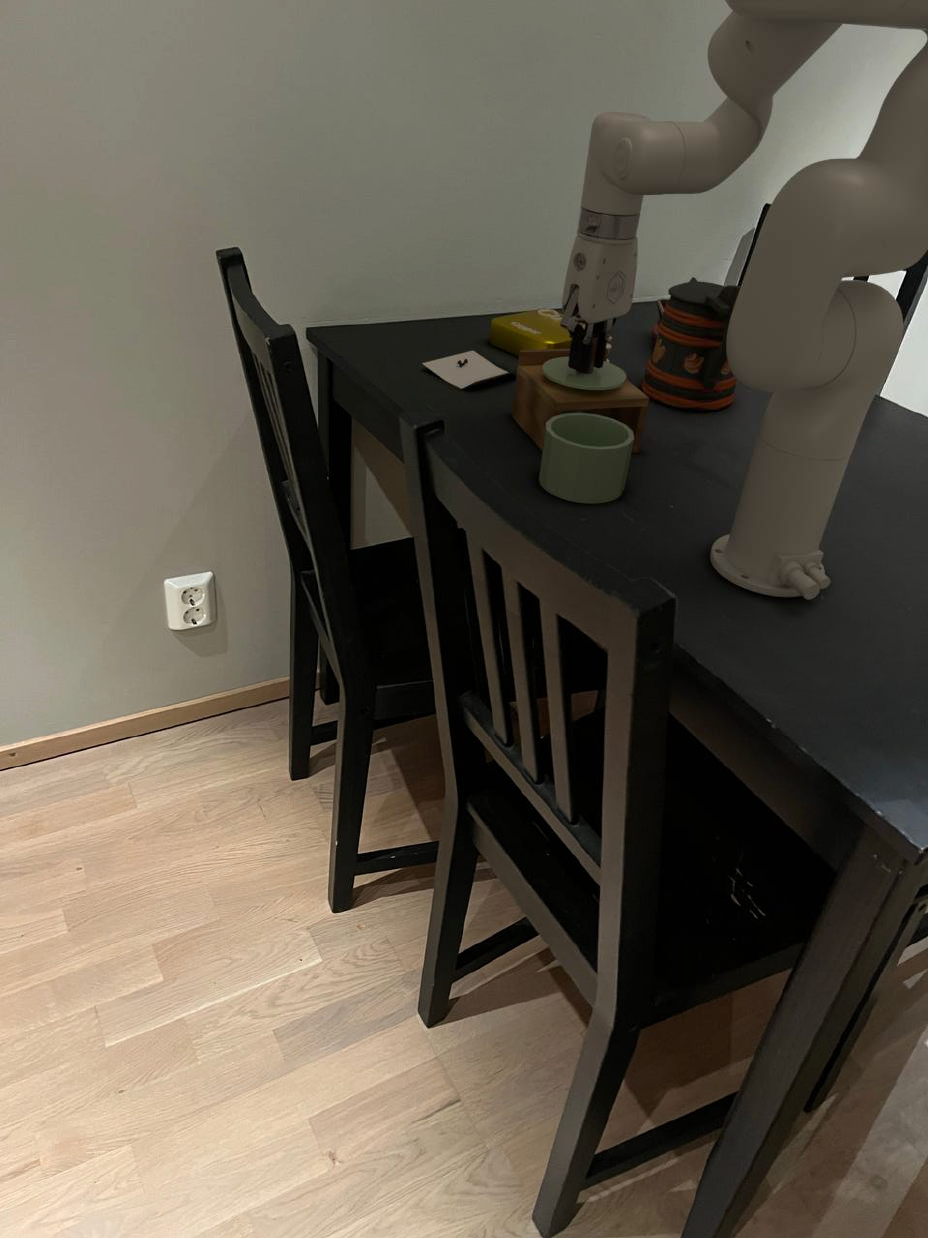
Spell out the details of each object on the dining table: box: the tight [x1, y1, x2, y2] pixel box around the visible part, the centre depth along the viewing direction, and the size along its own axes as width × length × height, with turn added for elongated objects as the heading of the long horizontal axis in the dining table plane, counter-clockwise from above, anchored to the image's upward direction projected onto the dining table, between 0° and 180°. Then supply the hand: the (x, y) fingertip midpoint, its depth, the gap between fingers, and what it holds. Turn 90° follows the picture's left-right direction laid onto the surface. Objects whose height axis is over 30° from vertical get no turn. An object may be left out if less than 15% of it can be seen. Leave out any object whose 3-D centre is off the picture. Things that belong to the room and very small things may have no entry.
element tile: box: [489, 307, 585, 358], centre depth 161 cm, size 15×15×5 cm
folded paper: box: [421, 350, 517, 390], centre depth 148 cm, size 12×12×2 cm
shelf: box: [511, 348, 650, 454], centre depth 129 cm, size 14×14×10 cm
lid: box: [542, 333, 627, 390], centre depth 125 cm, size 12×12×6 cm
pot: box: [538, 412, 634, 505], centre depth 116 cm, size 11×11×7 cm
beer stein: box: [641, 276, 741, 412], centre depth 141 cm, size 19×15×20 cm
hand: (585, 366), depth 126 cm, fingers closed on lid, 2 cm apart
